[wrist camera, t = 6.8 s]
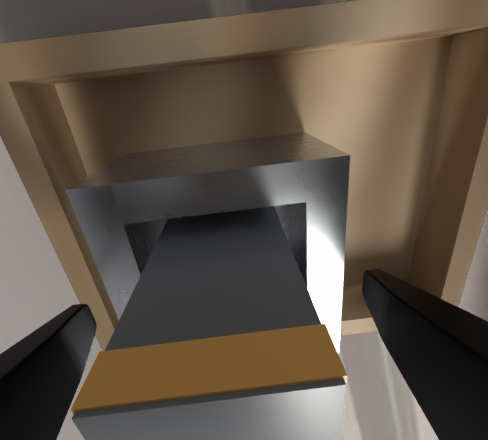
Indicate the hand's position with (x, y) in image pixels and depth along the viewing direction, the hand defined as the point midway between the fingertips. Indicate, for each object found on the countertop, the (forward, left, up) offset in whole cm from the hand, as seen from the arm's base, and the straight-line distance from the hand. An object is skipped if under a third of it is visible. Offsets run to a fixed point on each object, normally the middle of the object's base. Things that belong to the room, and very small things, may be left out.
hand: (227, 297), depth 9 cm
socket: (0, 0, -6) cm, 6 cm away
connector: (0, 0, -4) cm, 4 cm away
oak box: (-2, -1, -6) cm, 7 cm away
